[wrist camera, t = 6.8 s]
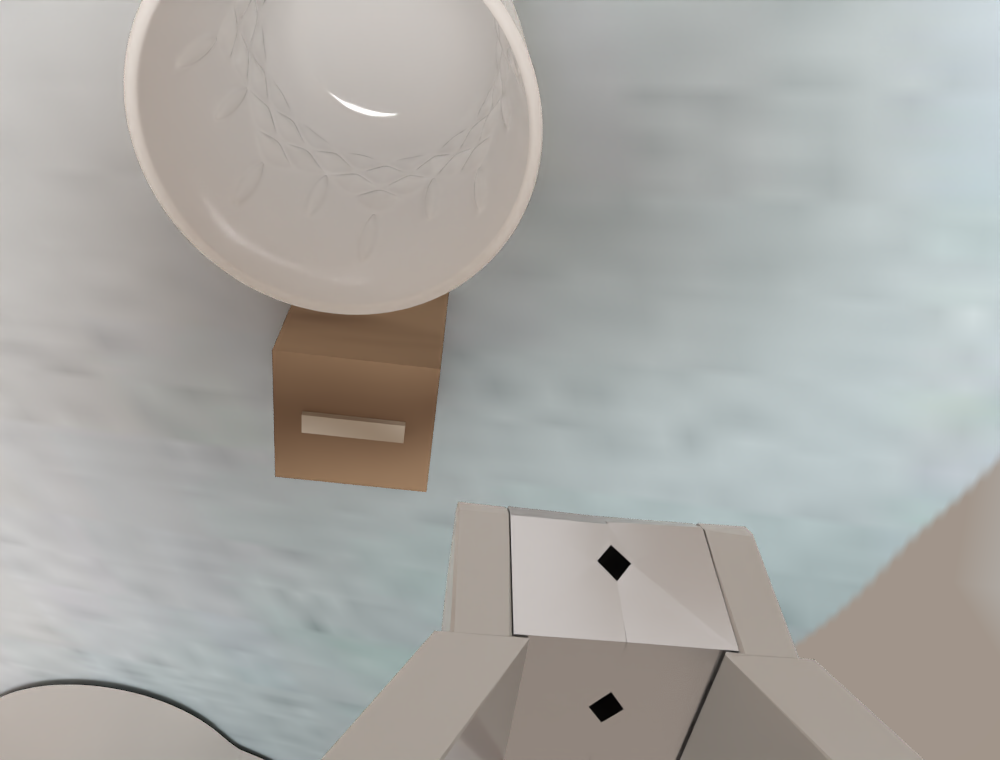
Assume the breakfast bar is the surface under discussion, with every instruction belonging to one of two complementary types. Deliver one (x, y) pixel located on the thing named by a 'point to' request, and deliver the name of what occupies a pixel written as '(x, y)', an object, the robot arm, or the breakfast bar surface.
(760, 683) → the robot arm
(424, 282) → the white cup
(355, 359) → the walnut block
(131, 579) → the breakfast bar surface
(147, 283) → the breakfast bar surface
